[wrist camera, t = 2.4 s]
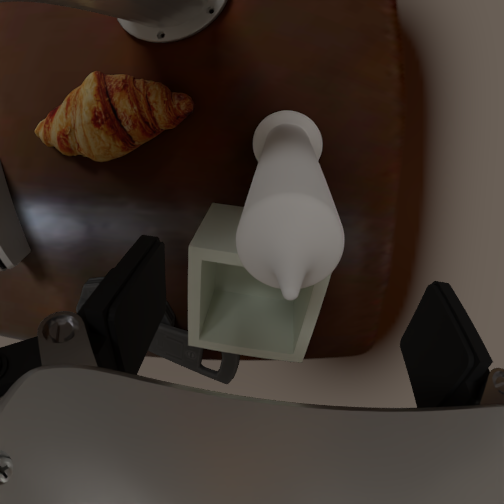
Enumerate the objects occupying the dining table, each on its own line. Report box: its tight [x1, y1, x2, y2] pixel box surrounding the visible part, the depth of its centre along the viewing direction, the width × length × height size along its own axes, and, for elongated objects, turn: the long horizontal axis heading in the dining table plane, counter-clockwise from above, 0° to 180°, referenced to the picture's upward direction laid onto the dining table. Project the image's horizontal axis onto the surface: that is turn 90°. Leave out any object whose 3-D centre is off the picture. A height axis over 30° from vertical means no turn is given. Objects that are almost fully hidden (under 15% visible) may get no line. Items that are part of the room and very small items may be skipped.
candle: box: [236, 110, 344, 300], centre depth 21 cm, size 7×7×25 cm
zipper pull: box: [76, 277, 240, 384], centre depth 43 cm, size 9×7×25 cm
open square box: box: [188, 203, 332, 363], centre depth 35 cm, size 12×12×10 cm
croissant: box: [35, 71, 195, 162], centre depth 29 cm, size 21×10×8 cm, turn 93°
